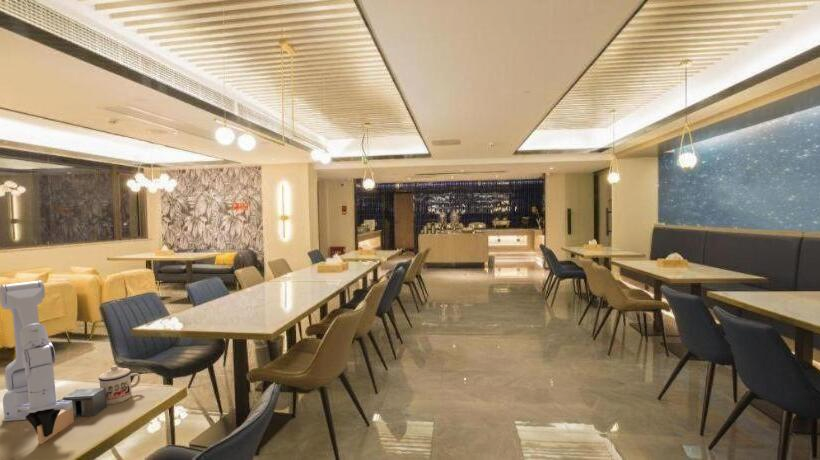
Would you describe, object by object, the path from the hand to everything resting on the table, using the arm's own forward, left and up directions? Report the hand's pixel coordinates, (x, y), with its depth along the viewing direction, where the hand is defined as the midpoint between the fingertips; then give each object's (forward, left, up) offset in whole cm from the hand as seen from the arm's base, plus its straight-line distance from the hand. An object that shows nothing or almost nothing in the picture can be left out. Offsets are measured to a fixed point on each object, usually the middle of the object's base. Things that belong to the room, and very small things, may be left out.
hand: (45, 435), depth 119 cm
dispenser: (0, +16, -1) cm, 16 cm away
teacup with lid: (+5, +26, -2) cm, 27 cm away
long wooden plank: (0, +4, -1) cm, 4 cm away
